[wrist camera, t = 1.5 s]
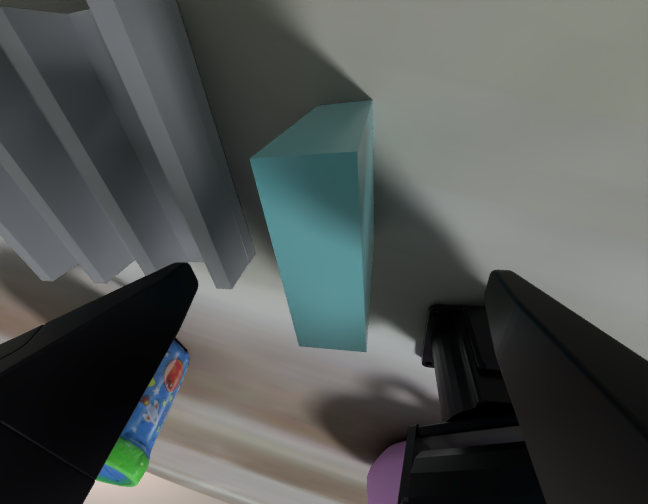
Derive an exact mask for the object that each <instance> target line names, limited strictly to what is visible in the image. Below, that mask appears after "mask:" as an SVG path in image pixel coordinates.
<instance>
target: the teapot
mask: <svg viewBox="0 0 648 504" xmlns="http://www.w3.org/2000/svg"><path fill="white" fill-rule="evenodd" d="M405 447H406V441H403V442H399V443H396V444H393V445H391V446H389V447H388V448H387V449H385V451H384V452H383V453H382V454H381V455H380V456H379V457H378V458H377V460H376V461H375V462H374V464H373V465H372V466H371V468H370V470H369V473H368V476H367V494H368V504H397V503H398V495H399V488H400V481H401V474H402V467H403V460H404V454H405Z"/></svg>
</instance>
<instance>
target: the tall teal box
mask: <svg viewBox="0 0 648 504" xmlns="http://www.w3.org/2000/svg"><path fill="white" fill-rule="evenodd" d="M249 159H250V163H251V166H252V170H253V174H254V178H255V181H256V185H257V189H258V193H259V196H260V200H261V204H262V208H263V212H264V215H265V219H266V223H267V227H268V230H269V234H270V238H271V242H272V245H273V249H274V253H275V257H276V260H277V264H278V268H279V272H280V275H281V279H282V283H283V287H284V291H285V294H286V298H287V302H288V306H289V309H290V313H291V317H292V321H293V324H294V328H295V332H296V336H297V339H298V343H299V346H303V347H314V348H326V349H337V350H348V351H360V352H366V350H367V336H368V321H369V307H370V292H371V278H372V263H373V248H374V163H373V100H366V101H356V102H347V103H338V104H328V105H319V106H317V107H315V108H314V109H313V110H312V111H310V112H309V113H308V114H306V115H305V116H304V117H302V118H301V119H300V120H299V121H297V122H296V123H295V124H293V125H292V126H291V127H290V128H288V129H287V130H286V131H284V132H283V133H282V134H281V135H279V136H278V137H277V138H275V139H274V140H273V141H271V142H270V143H269V144H268V145H266V146H265V147H264V148H262V149H261V150H260V151H259V152H257V153H256V154H255V155H253V156H252V157H251V158H249Z"/></svg>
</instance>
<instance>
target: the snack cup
mask: <svg viewBox="0 0 648 504" xmlns="http://www.w3.org/2000/svg"><path fill="white" fill-rule="evenodd" d="M188 363H189V353H187V352H185V350H184V349H183V348H182V347H181V346H180V345H179V343H177V342H176V341H175V340H174V341H173V342H172V344H171V346H170V348H169V350H168V351H167V353H166V355H165V357H164V359H163V360H162V362H161V364H160V366H159V368H158V369H157V371H156V373H155V375H154V376H153V378H152V380H151V382H150V384H149V385H148V387H147V389H146V391H145V393H144V394H143V396H142V398H141V400H140V402H139V403H138V405H137V407H136V409H135V411H134V412H133V414H132V416H131V418H130V419H129V421H128V423H127V425H126V427H125V428H124V430H123V432H122V434H121V436H120V437H119V439H118V441H117V443H116V445H115V446H114V448H113V450H112V452H111V454H110V455H109V457H108V459H107V461H106V462H105V464H104V466H103V468H102V470H101V471H100V473H99V475H98V477H97V479H96V480H97V481H101V482H105V483H109V484H114V485H118V486H127V487H133V486H136V485H137V484H138V482H139V481H140V479H141V478H142V476H143V475H144V473H145V471H146V469H147V467H148V464H149V459H150V453H151V450H152V447H153V445H154V442H155V440H156V438H157V436H158V435H159V432H160V430H161V428H162V426H163V423H164V421H165V419H166V417H167V415H168V412H169V410H170V408H171V406H172V403H173V401H174V399H175V396H176V394H177V392H178V390H179V387H180V385H181V383H182V381H183V379H184V375H185V373H186V371H187V369H188Z"/></svg>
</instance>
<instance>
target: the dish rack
mask: <svg viewBox="0 0 648 504" xmlns="http://www.w3.org/2000/svg"><path fill="white" fill-rule="evenodd" d="M86 1H87V3H88V6H89V8H90V9H87V10H82V11H78V12H73V13H69V14H63V13H55V12H46V11H38V10H29V9H21V8H13V7H4V6H0V235H1V237H2V238H3V239H4V240H5V241H6V242H7V243H8V244H9V245H10V246H11V247H12V249H13V250H14V251H15V252H16V253H17V254H18V255H19V256H20V257H21V258H22V259H23V261H24V262H25V263H26V264H27V265H28V266H29V267H30V268H31V269H32V270H33V271H34V273H35V274H36V275H37V276H38V277H39V278H40V279H41V280H42V281H54V280H56V279H57V278H59V277H60V276H61V275H63V274H64V273H66V272H67V271H69V270H70V269H72V268H73V267H75V266H76V265H77V264H79V265H80V266H81V267H82V268H83V270H84V271H85V272H86V274H87V275H88V276H89V277H90V279H91V280H92V281H93V282H94V283H104V284H106V283H108V282H109V281H110V280H111V279H112V278H114V277H115V276H116V275H117V274H118V273H120V272H121V271H122V270H123V269H125V268H126V267H127V266H128V265H129V264H131V263H132V262H133V261H134V260H136V261H137V263H138V264H139V266H140V268H141V269H142V271H143V272H144V274H145V276H147V275H149V274H151V273H153V272H155V271H158V270H160V269H162V268H164V267H166V266H168V265H170V264H172V263H175V262H186V263H188V262H205V264H206V266H207V269H208V271H209V273H210V275H211V277H212V280H213V282H214V284H215V286H216V288H217V289H232V288H233V287H234V285H235V284H236V282H237V281H238V279H239V278H240V276H241V275H242V273H243V271H244V270H245V268H246V267H247V265H248V264H249V263H250V262H251V260H252V259H253V257H254V256H255V254H256V253H255V250H254V247H253V244H252V241H251V237H250V234H249V231H248V228H247V225H246V221H245V218H244V215H243V212H242V209H241V206H240V202H239V199H238V196H237V193H236V190H235V186H234V183H233V180H232V177H231V174H230V171H229V167H228V164H227V161H226V158H225V155H224V151H223V148H222V145H221V142H220V139H219V136H218V132H217V129H216V126H215V123H214V120H213V116H212V113H211V110H210V107H209V104H208V101H207V97H206V94H205V91H204V88H203V85H202V81H201V78H200V75H199V72H198V69H197V65H196V62H195V59H194V56H193V53H192V50H191V46H190V43H189V40H188V37H187V34H186V30H185V27H184V24H183V21H182V18H181V15H180V11H179V8H178V5H177V2H176V0H86Z"/></svg>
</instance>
